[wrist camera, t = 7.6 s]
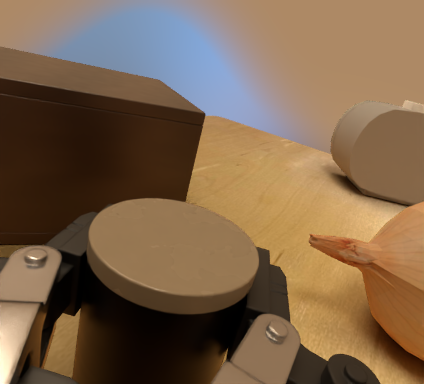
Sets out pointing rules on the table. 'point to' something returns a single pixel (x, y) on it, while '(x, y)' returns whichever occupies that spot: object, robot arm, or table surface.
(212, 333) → the tin
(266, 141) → the table surface
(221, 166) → the table surface
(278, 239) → the table surface
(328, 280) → the table surface
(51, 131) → the cabinet
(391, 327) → the sculpture
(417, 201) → the alarm clock
